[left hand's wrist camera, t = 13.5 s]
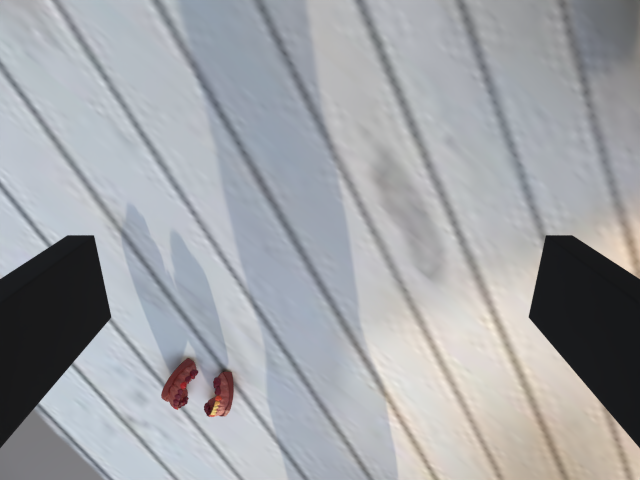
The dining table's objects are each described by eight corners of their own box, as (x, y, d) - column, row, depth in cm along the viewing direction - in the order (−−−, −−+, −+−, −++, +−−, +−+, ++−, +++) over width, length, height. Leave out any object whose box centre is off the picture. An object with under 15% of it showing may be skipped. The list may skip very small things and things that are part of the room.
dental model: (221, 434, 49) (154, 413, 48) (228, 408, 53) (166, 388, 52) (236, 397, 48) (166, 375, 47) (242, 373, 52) (178, 352, 51)
